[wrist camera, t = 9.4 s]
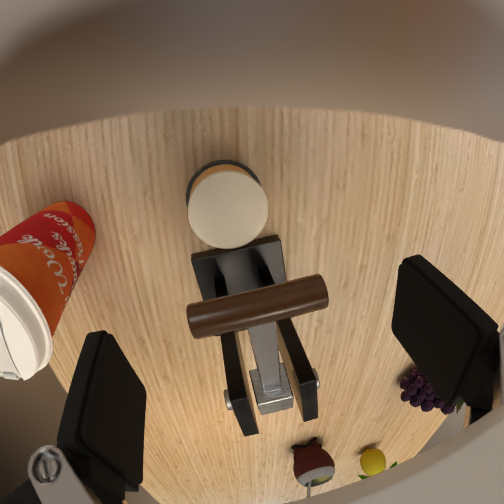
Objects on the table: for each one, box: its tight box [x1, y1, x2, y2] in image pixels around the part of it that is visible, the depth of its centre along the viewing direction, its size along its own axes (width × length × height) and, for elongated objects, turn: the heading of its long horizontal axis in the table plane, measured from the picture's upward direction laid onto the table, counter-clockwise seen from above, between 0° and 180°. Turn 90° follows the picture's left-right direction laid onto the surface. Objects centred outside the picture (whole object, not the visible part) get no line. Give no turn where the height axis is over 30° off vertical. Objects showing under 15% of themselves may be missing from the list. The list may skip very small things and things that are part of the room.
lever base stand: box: [191, 235, 320, 436], centre depth 23 cm, size 9×8×15 cm
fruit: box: [400, 369, 464, 415], centre depth 39 cm, size 10×11×15 cm
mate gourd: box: [291, 437, 335, 498], centre depth 40 cm, size 8×8×15 cm
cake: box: [186, 160, 269, 249], centre depth 24 cm, size 6×6×4 cm
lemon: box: [358, 448, 397, 479], centre depth 49 cm, size 7×6×10 cm
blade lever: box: [186, 274, 329, 415], centre depth 15 cm, size 12×5×2 cm, turn 10°
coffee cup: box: [0, 201, 95, 380], centre depth 18 cm, size 8×8×15 cm
